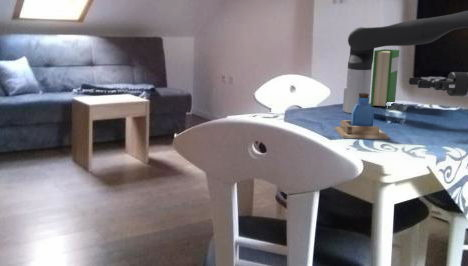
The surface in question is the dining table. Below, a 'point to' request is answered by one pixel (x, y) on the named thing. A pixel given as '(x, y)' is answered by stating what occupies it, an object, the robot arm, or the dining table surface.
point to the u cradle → (360, 131)
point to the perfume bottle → (362, 112)
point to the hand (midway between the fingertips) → (413, 82)
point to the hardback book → (384, 77)
